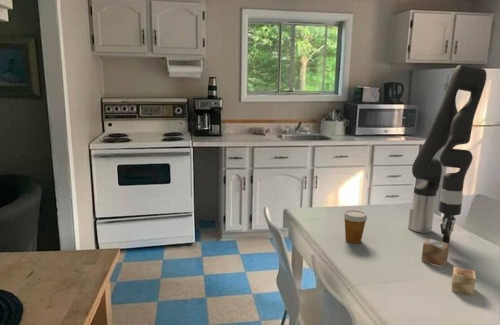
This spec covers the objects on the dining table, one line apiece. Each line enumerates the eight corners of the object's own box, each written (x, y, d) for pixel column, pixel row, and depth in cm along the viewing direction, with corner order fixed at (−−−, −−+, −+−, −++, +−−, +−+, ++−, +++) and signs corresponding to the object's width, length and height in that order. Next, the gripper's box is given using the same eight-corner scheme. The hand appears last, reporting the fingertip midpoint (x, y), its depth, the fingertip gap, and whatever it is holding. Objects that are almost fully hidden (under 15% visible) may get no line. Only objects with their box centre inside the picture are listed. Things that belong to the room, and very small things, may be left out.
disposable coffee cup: (366, 238, 160) (368, 211, 158) (363, 246, 152) (365, 218, 149) (344, 234, 164) (346, 208, 162) (339, 242, 155) (341, 214, 153)
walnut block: (421, 261, 140) (423, 243, 138) (427, 255, 145) (429, 237, 144) (441, 267, 135) (443, 248, 134) (447, 261, 140) (449, 243, 139)
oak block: (451, 291, 119) (454, 273, 118) (451, 283, 125) (453, 265, 123) (473, 296, 117) (476, 278, 116) (472, 287, 122) (474, 270, 121)
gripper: (444, 195, 150) (440, 236, 153) (435, 202, 140) (430, 245, 143) (465, 199, 145) (460, 241, 148) (457, 206, 135) (451, 251, 138)
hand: (445, 243), depth 146 cm, fingers closed
